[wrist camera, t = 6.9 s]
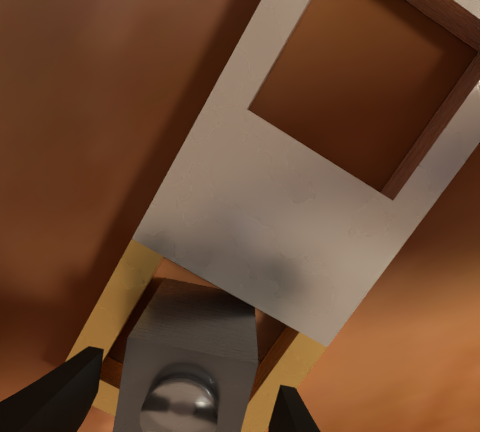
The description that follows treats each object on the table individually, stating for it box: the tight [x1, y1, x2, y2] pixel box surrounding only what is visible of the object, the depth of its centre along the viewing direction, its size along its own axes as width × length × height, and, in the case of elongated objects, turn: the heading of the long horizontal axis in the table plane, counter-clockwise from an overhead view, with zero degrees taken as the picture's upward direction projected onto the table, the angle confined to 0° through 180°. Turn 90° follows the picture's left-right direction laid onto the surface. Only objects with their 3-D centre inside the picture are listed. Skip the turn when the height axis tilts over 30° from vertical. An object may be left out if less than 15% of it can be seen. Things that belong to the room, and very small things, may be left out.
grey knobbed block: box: [113, 278, 258, 432], centre depth 13 cm, size 4×4×6 cm
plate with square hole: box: [65, 0, 480, 432], centre depth 14 cm, size 10×24×2 cm, turn 149°
